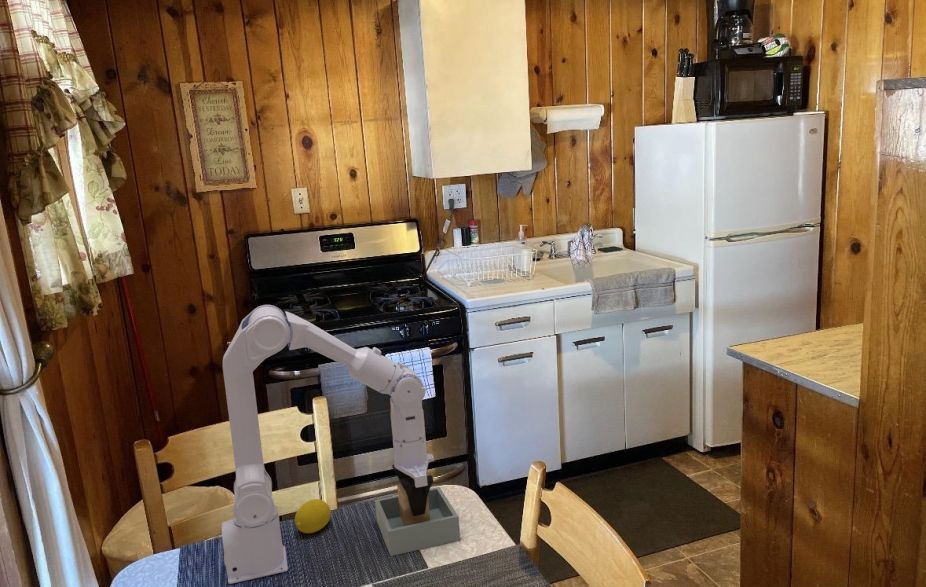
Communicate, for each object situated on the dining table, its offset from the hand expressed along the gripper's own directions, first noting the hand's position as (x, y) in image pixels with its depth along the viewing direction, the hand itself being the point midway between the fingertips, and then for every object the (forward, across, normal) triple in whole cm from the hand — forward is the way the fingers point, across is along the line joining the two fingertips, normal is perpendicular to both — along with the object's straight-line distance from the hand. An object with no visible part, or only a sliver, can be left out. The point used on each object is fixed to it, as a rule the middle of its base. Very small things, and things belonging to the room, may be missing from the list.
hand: (415, 507), depth 126 cm
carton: (+2, 0, 0) cm, 2 cm away
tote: (+4, 0, 0) cm, 4 cm away
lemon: (+2, +11, +14) cm, 18 cm away
